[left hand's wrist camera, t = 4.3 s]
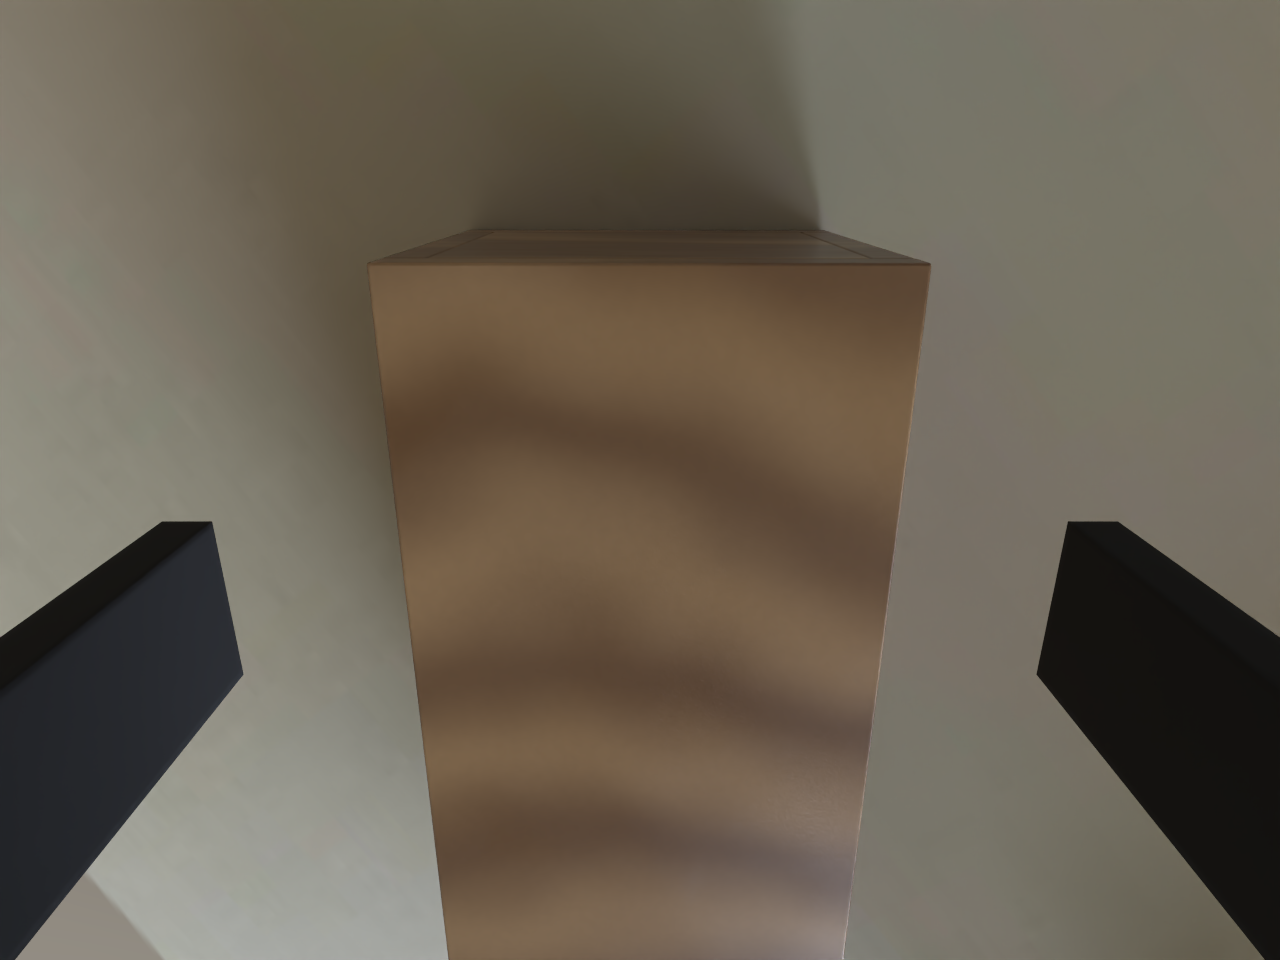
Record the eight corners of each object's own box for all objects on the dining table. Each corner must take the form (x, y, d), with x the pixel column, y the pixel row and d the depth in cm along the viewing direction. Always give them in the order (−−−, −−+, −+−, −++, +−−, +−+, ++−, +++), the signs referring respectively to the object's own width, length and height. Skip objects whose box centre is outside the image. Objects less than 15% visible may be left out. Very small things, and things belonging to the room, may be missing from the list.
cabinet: (782, 764, 31) (838, 1000, 22) (507, 763, 31) (452, 999, 22) (825, 230, 24) (933, 263, 15) (468, 229, 24) (365, 262, 15)
